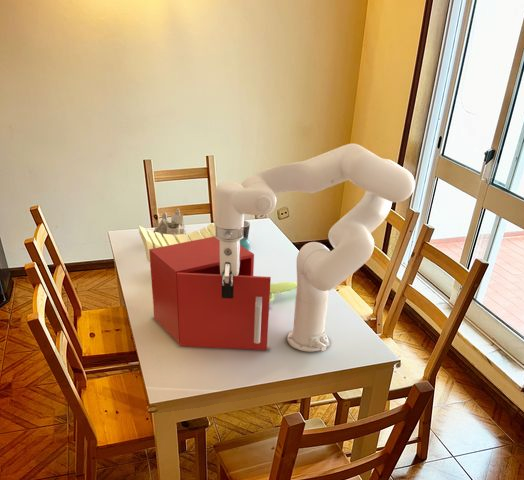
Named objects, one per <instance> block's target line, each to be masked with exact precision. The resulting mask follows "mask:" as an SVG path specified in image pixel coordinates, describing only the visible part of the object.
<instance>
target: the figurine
mask: <svg viewBox="0 0 524 480" xmlns="http://www.w3.org/2000/svg"><path fill="white" fill-rule="evenodd" d="M293 290H297V281H279V282H274V283H273V282H271V283H270V300H269V303H270V302H273V301H274V300H275V294H278V295H280V296H284V294H281V293H285V292H289V291H293Z"/></svg>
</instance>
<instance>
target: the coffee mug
mask: <svg viewBox="0 0 524 480" xmlns="http://www.w3.org/2000/svg"><path fill="white" fill-rule="evenodd" d="M250 225H251V222H249V221H247V220H244V229H246V230H247V236H246V237H245V238H247V239H248V240H249V235H250Z"/></svg>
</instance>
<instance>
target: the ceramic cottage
mask: <svg viewBox="0 0 524 480" xmlns="http://www.w3.org/2000/svg"><path fill="white" fill-rule="evenodd" d="M161 215H162V216H161V217H162V218H161V220H160V222H159V223H158V224H157V226H155V227H154V230H153V233H154V234H155V232H158V233H160V234H161V235H162V237H163V234H170V235H173V236H174V237H175V235H179V234H186V235H187V231H186V230H185V228H186V227H185V221H184V215H183V214H181V211H180V208H179V207H178V208H177V209H176V210H175V211H174V213H172V214H171V218H170V220H171V221H170V222H169V221H168V216H167V212H166V211H163V212H162V214H161ZM175 239H176V237H175ZM176 240H177V239H176ZM177 242H178V241H177ZM178 244H179V243H178Z"/></svg>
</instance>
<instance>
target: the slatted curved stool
mask: <svg viewBox="0 0 524 480" xmlns="http://www.w3.org/2000/svg"><path fill="white" fill-rule="evenodd" d="M138 231H139V235H140V238H141V240H142V242H143V246H144V251H145V258H146V260H147V262H148V263H150V253H149V249H153V248H158V247H163V246H169V245H174V244H178V243H184V242H189V241H194V240H199V239H204V238H209V237H214V236H215V221H214V222H213V223H210V224H208V225H206V227H202V228H200V229H199V231H198V230H194V231H191V232H188V233H186V234H179V235H175V237H176V239H177V240H176V239H175V237H174V236H173V235H170V234H163V237H162V235H161V234H160V233H158V232H155V233H154V230H150V229H145V227H142V226H140V225H139V226H138ZM177 241H178V242H177Z"/></svg>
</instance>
